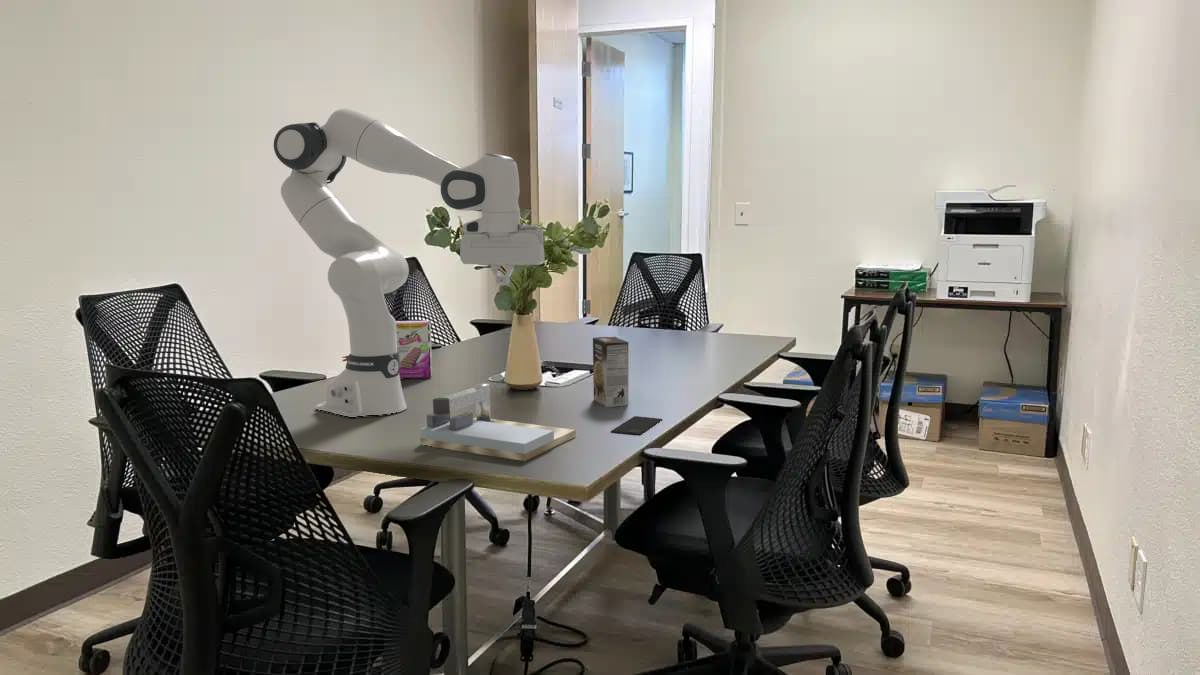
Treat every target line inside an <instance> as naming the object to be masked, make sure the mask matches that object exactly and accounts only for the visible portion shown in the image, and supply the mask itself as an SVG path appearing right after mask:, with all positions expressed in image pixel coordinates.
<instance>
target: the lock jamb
mask: <svg viewBox="0 0 1200 675" xmlns="http://www.w3.org/2000/svg"><path fill="white" fill-rule="evenodd" d="M473 416H474V415H473V412H469V411H465V412H463V413H461V414H457V415H454V416H452V417H451V412H450V413H448V414H442V415H438V414H434V413H433V412H432V413H429V414H427V415H426V426H424V427H422V428H420V429H419V432H420V433H419V434H420V436H419V438H420V445H421V444H422V445H421V446H424V445H428V446H427V447H430V446H432V447H431V448H437V449H438V448H439V449H443V450H444V449H445V450H451V451H457V452H464V453H469V454H475V455H476V454H477V455H483V456H490V457H495V458H502V459H510V460H516V461H522V462H526V461H529V460H531V459H532V458H534V457H537V456H539V455H541V454H543V453H545V452H547V451H549V450H551V449H554V448H555V447H557V446H559V445H562V444H563V443H566V442H568V441H570V440H572V439H573V438H575V437H576V434H577V433H576V429H572V428H571V429H570V428H564V427H555V426H547V425H539V424H534V423H533V424H532V423H527V422H526V423H525V422H518V421H509V420H501V419H495V418H491V421H489V422H485V421H477V420H476V417H473Z"/></svg>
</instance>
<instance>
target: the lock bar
mask: <svg viewBox="0 0 1200 675" xmlns="http://www.w3.org/2000/svg"><path fill="white" fill-rule="evenodd" d="M490 385H491V384H490V383H488V382H487V383H483V382H482V383H477V384H475V385H474V387H471V388H468V389H464V390H462V391H459V392H454V393H452V394H448V395H446V396H442V397H437V398H433V399H432V411H433V412H432V413H434V414H438V415H442V414H448V413H450V414H451V412H453V411H457V410H459V409H462V408H465V407H469V406H471V405H474V404H475V418H476V420H477V421H485V422H489V421H491V419H492V418H491V417H492V416H491V390H490V389H491V388H490Z"/></svg>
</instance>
